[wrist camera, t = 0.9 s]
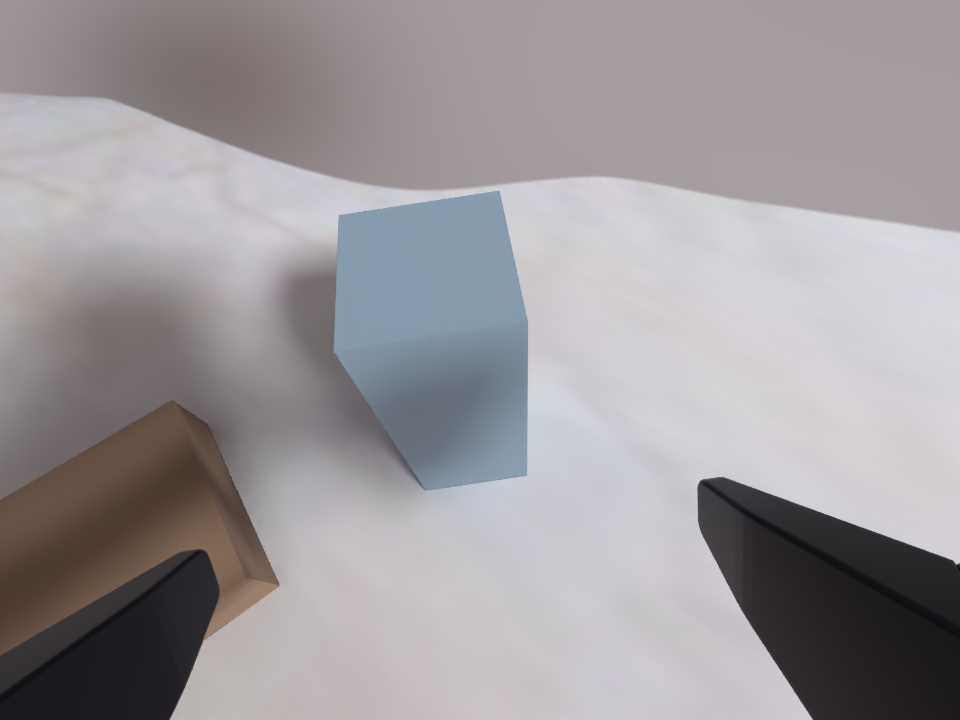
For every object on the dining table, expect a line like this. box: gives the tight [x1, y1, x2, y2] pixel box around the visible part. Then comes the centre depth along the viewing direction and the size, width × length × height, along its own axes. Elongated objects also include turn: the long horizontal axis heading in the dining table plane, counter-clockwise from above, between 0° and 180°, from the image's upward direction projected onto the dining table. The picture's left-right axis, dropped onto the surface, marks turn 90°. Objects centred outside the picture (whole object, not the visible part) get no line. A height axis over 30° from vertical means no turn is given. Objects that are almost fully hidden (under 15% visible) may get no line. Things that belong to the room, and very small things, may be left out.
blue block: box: [333, 191, 528, 490], centre depth 19 cm, size 5×5×13 cm
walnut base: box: [0, 400, 280, 655], centre depth 21 cm, size 10×10×3 cm
